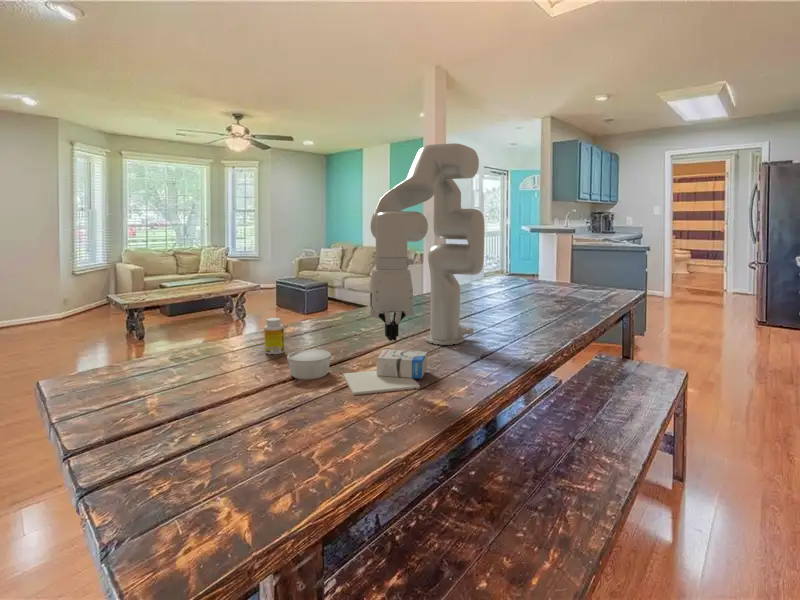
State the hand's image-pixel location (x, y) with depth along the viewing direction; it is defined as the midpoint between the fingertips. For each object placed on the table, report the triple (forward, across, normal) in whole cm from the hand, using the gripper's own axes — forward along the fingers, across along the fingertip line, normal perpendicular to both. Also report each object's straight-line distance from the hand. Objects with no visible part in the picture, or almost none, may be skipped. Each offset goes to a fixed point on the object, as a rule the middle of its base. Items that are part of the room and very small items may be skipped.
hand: (391, 339), depth 119 cm
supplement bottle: (+11, +27, -34) cm, 45 cm away
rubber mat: (+11, +3, 0) cm, 11 cm away
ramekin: (+11, +19, -11) cm, 25 cm away
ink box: (+8, -9, -1) cm, 12 cm away
